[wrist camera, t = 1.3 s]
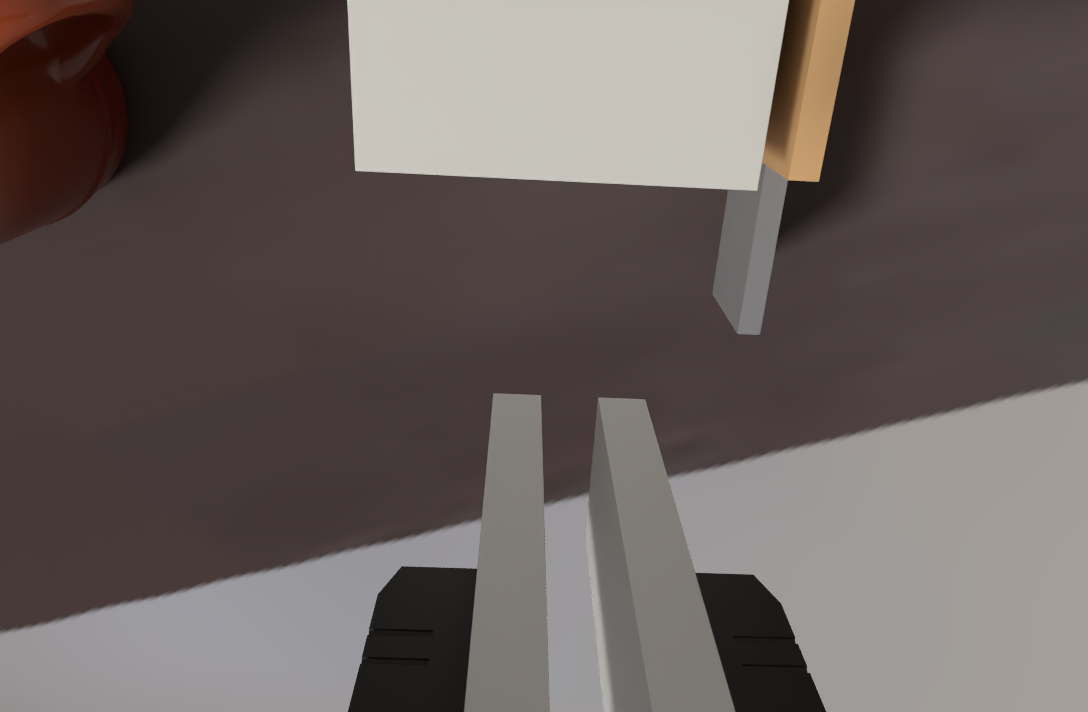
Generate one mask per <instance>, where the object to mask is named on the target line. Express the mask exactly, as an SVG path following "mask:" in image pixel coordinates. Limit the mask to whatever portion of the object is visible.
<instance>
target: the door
mask: <svg viewBox="0 0 1088 712" xmlns="http://www.w3.org/2000/svg"><path fill="white" fill-rule="evenodd" d="M854 3H855V0H789V3H788V9H787V15H786V21H785V27H784V33H783V39H782V45H781V51H780V57H779V63H778V69H777V75H776V81H775V87H774V93H773V99H772V105H771V111H770V117H769V123H768V129H767V135H766V141H765V147H764V153H763V159H762V165H761V171H760V177H759V183H758V189H757V191H752V190H732V189H728V195H727V201H726V208H725V215H724V221H723V228H722V234H721V241H720V247H719V254H718V261H717V267H716V274H715V280H714V287H713V296H714V297H715V299H716V300H717V302H718V304H719V305H720V307H721V308H722V310H723V312H724V313H725V315H726V316H727V318H728V320H729V321H730V323H731V324H732V326H733V328H734V329H735V331H736V332H737V334H753V335H760V330H761V325H762V319H763V314H764V308H765V303H766V297H767V292H768V287H769V281H770V276H771V270H772V265H773V259H774V254H775V248H776V243H777V237H778V232H779V226H780V221H781V215H782V210H783V204H784V199H785V194H786V188H787V183H788V180H791V181H811V182H819V178H820V173H821V168H822V163H823V158H824V153H825V148H826V143H827V138H828V133H829V128H830V123H831V118H832V113H833V108H834V103H835V98H836V93H837V88H838V83H839V78H840V73H841V68H842V63H843V58H844V53H845V48H846V43H847V38H848V33H849V28H850V23H851V18H852V13H853V8H854Z"/></svg>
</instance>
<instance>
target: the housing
mask: <svg viewBox="0 0 1088 712" xmlns="http://www.w3.org/2000/svg"><path fill="white" fill-rule="evenodd" d="M788 3H789V0H347V5H348V26H349V47H350V68H351V89H352V110H353V131H354V152H355V171H370V172H390V173H410V174H430V175H450V176H471V177H491V178H511V179H531V180H551V181H571V182H591V183H611V184H632V185H652V186H672V187H692V188H712V189H732V190H752V191H757V189H758V183H759V177H760V171H761V165H762V159H763V153H764V147H765V141H766V135H767V129H768V123H769V117H770V111H771V105H772V99H773V93H774V87H775V81H776V75H777V69H778V63H779V57H780V51H781V45H782V39H783V33H784V27H785V21H786V15H787V9H788Z"/></svg>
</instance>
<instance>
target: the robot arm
mask: <svg viewBox="0 0 1088 712" xmlns="http://www.w3.org/2000/svg"><path fill="white" fill-rule="evenodd" d="M480 535H481V536H480V545H479V556H478V567H477V569H466V568H435V567H401V568H400V569H399V570H398V571H397V573H396V574H395V575H394V576H393V578H392V579H391V580H390V581H389V582H388V583H387V584H386V586H385V587H384V588H383V589H382V590H381V592H380V593H379V594H378V597H377V600H376V604H375V608H374V612H373V616H372V620H371V624H370V628H369V635H368V636H367V639H366V643H365V647H364V652H363V655H362V663H361V664H360V667H359V671H358V675H357V678H356V682H355V686H354V690H353V694H352V698H351V702H350V706H349V710H348V712H550V706H549V675H548V674H549V671H548V636H547V600H546V564H545V528H544V492H543V456H542V421H541V395H520V394H494V393H493V404H492V415H491V426H490V437H489V447H488V458H487V469H486V480H485V491H484V502H483V512H482V523H481V534H480ZM586 545H587V555H588V565H589V573H590V582H591V583H590V584H591V593H592V602H593V612H594V622H595V631H596V641H597V650H598V660H599V670H600V680H601V689H602V698H603V708H604V712H826V711H825V708H824V706H823V703H822V701H821V698H820V696H819V694H818V691H817V689H816V686H815V684H814V682H813V680H812V677H811V674H810V673H807V665H806V662H805V660H804V658H803V656H802V653H801V650H800V649H799V646H798V644H795V636H794V634H793V631H792V629H791V626H790V624H789V622H788V619H787V617H786V615H785V612H784V610H783V607H782V605H781V603H780V602H779V601H778V600H777V599H776V598H775V597H774V596H773V595H772V594H771V593H770V592H769V591H768V590H767V589H766V588H765V587H764V585H763V584H762V583H761V582H760V581H758V579H757V578H756V577H755V576H754V575H744V574H743V575H742V574H712V573H711V574H710V573H695V570H694V567H693V564H692V560H691V557H690V554H689V550H688V547H687V543H686V539H685V536H684V532H683V529H682V526H681V522H680V519H679V516H678V512H677V508H676V505H675V502H674V498H673V495H672V491H671V487H670V484H669V481H668V477H667V474H666V470H665V467H664V463H663V460H662V456H661V453H660V449H659V446H658V443H657V439H656V436H655V432H654V429H653V425H652V422H651V418H650V415H649V411H648V408H647V404H646V401H645V399H622V398H598V405H597V416H596V427H595V438H594V448H593V459H592V470H591V481H590V492H589V503H588V514H587V524H586Z"/></svg>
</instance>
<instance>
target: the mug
mask: <svg viewBox="0 0 1088 712" xmlns="http://www.w3.org/2000/svg"><path fill="white" fill-rule="evenodd" d="M132 12H133V3H132V0H0V244H1V243H4V242H7V241H9V240H12V239H14V238H17V237H19V236H22V235H24V234H27V233H29V232H31V231H33V230H36V229H38V228H40V227H42V226H46V225H49V224H52V223H55V222H57V221H60V220H62V219H64V218H66V217H68V216H69V215H71V214H72V213H74V212H75V211H77V210H78V209H79V208H81V207H82V206H83V205H84V204H85V203H86V202H87V201H88V200H89V199H90V198H91V196H92V195H94V194H95V193H96V192H97V191H98V190H99V189H100V188H101V187H103V186H104V185H105V184H106V183H107V181H108V180H109V179H110V178H111V177H112V175H113V174H114V172H115V171H116V169H117V167H118V165H119V163H120V161H121V159H122V156H123V153H124V150H125V146H126V141H127V133H128V114H127V104H126V98H125V93H124V89H123V86H122V84H121V81H120V79H119V77H118V75H117V73H116V71H115V69H114V67H113V65H112V64H111V62H110V60H109V58H108V57H107V55H106V54H105V52H106V50H107V48H108V47H109V45H110V44H111V42H112V41H113V40H114V38H115V37H116V36H117V35H118V33H119V32H120V31H121V30H122V29H123V28H124V27H125V25H126V24H127V23H128V21H129V19H130V17H131V15H132Z"/></svg>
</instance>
